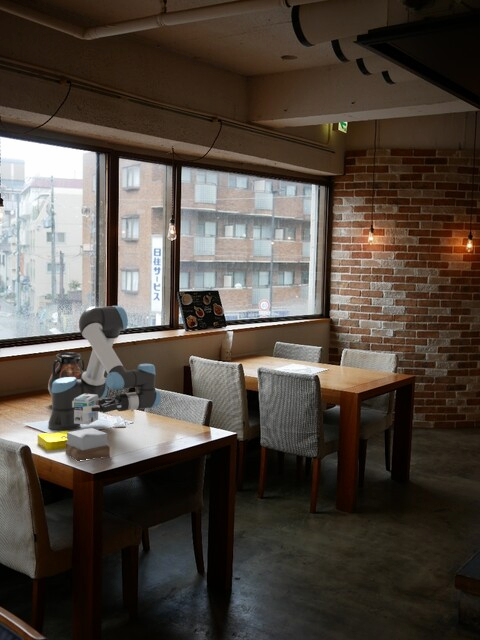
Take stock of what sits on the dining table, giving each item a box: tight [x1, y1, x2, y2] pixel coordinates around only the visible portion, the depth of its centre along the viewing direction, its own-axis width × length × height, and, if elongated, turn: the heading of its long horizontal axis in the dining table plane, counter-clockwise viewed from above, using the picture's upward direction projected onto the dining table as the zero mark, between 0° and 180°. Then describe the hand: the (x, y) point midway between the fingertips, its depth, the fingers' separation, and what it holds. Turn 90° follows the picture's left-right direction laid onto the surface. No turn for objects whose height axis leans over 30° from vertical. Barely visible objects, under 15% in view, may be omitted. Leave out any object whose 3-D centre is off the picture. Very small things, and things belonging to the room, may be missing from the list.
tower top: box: [67, 427, 108, 450], centre depth 304 cm, size 12×12×5 cm
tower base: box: [65, 443, 111, 462], centre depth 305 cm, size 14×14×5 cm
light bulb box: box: [74, 394, 99, 426], centre depth 302 cm, size 11×7×11 cm, turn 169°
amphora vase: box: [47, 352, 85, 397], centre depth 396 cm, size 22×22×28 cm
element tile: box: [37, 430, 71, 452], centre depth 319 cm, size 15×15×5 cm
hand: (77, 407), depth 300 cm, fingers closed on light bulb box, 12 cm apart
